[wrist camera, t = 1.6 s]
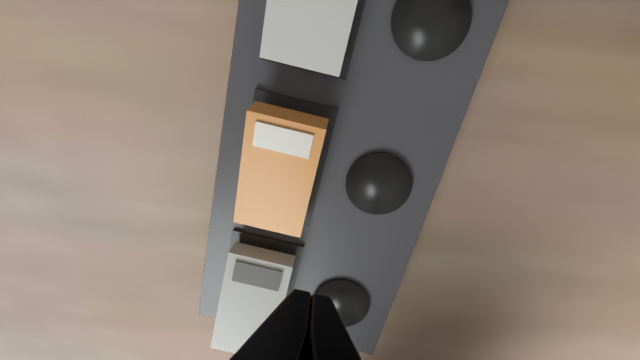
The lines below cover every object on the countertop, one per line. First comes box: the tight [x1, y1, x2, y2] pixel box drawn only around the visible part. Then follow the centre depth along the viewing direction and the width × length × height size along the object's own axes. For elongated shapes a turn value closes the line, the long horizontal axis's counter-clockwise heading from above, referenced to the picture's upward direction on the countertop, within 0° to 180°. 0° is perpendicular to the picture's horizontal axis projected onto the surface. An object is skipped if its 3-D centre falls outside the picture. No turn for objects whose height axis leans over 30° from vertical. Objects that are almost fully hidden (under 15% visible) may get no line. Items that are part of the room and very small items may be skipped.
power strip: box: [198, 0, 509, 354], centre depth 18 cm, size 20×10×3 cm, turn 167°
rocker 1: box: [210, 242, 295, 354], centre depth 17 cm, size 5×3×1 cm, turn 167°
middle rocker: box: [233, 101, 329, 238], centre depth 15 cm, size 5×3×1 cm, turn 167°
